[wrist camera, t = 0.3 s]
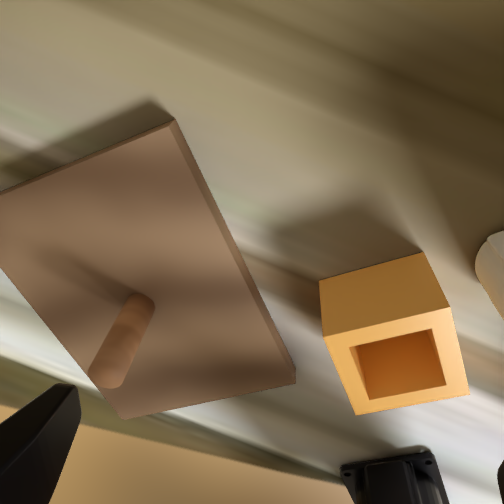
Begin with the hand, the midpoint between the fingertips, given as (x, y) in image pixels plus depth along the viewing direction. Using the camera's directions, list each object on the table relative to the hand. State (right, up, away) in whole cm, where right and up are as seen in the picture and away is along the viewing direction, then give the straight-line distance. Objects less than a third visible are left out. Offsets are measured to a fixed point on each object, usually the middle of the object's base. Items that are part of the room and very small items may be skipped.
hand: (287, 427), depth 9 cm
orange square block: (+6, +1, +14) cm, 16 cm away
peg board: (-7, +1, +15) cm, 17 cm away
